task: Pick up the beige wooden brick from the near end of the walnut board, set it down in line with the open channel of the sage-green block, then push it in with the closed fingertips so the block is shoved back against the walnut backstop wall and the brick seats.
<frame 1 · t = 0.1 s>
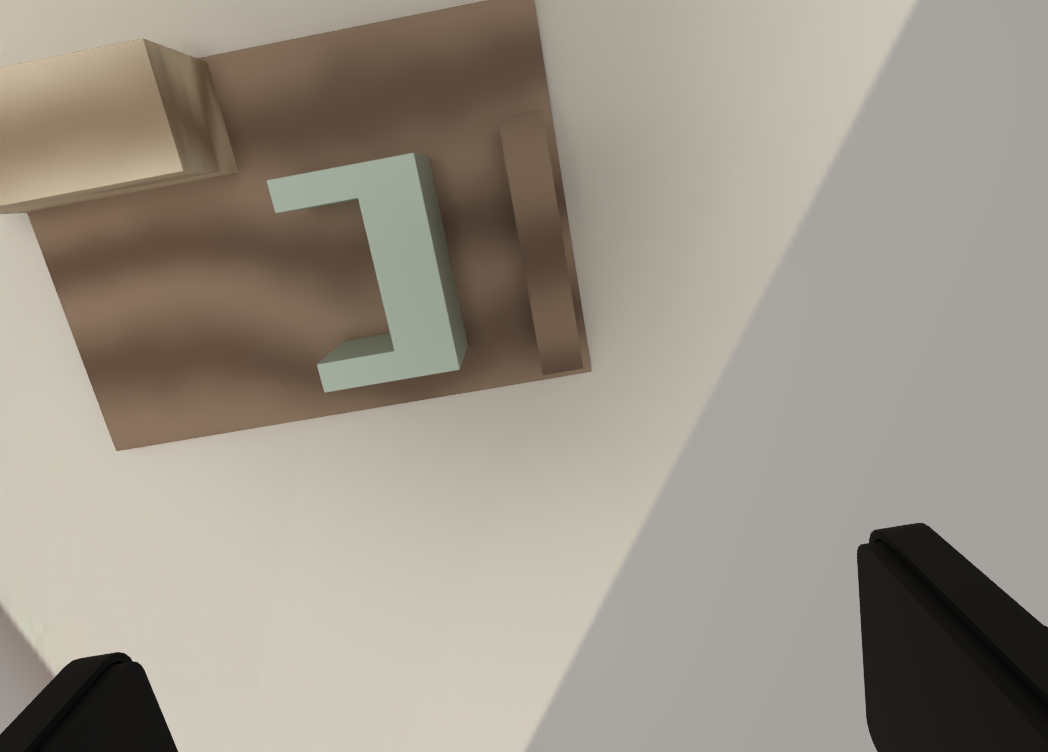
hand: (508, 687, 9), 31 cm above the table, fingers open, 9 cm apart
block: (377, 271, 35), point 3 cm above the table, slide at 0.0 cm
beige wooden brick: (114, 139, 36), point 1 cm above the table, touching board
board: (309, 242, 38), on the table
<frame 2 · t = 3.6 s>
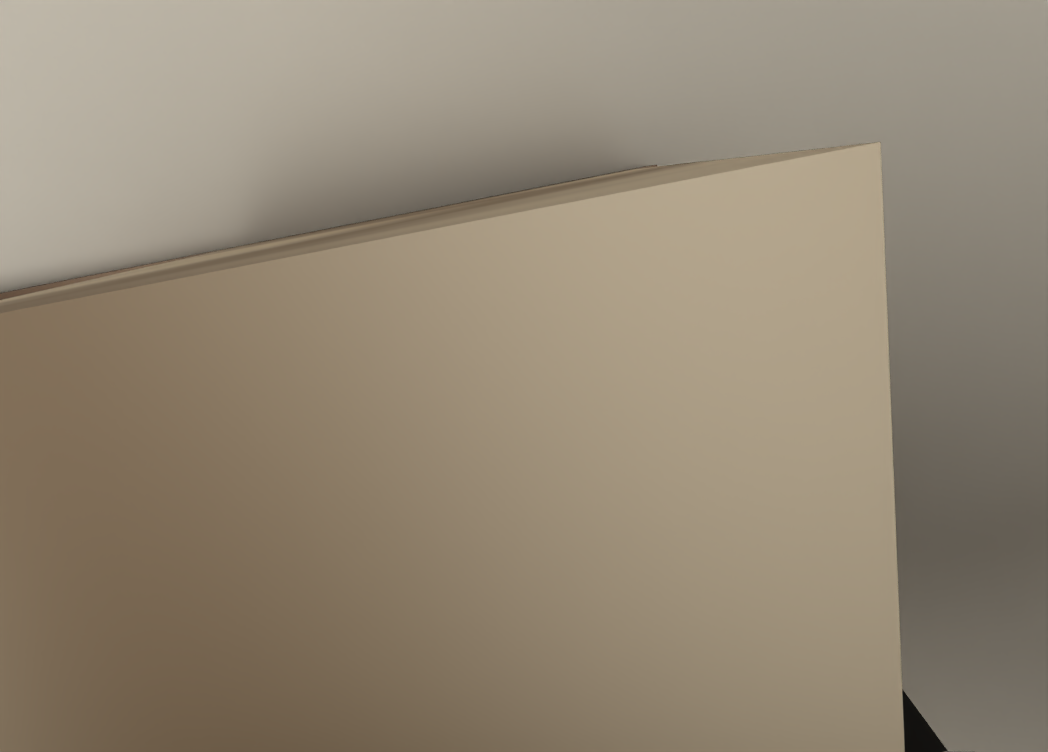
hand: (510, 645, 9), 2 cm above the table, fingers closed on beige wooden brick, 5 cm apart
beige wooden brick: (511, 613, 10), point 1 cm above the table, touching board, gripper
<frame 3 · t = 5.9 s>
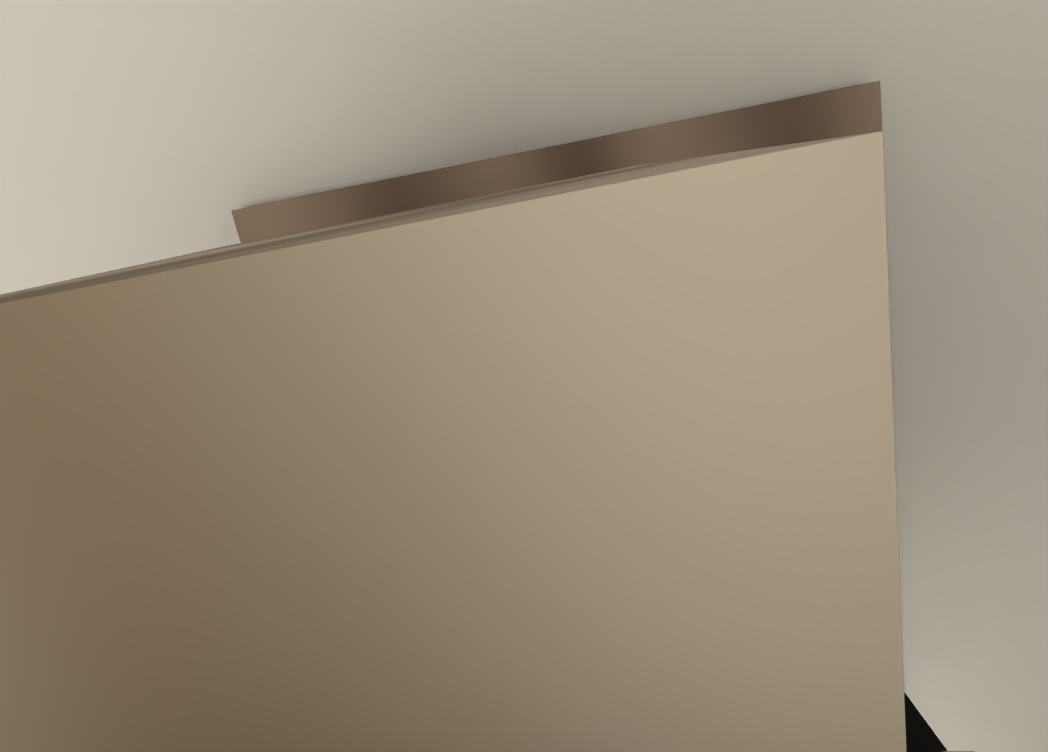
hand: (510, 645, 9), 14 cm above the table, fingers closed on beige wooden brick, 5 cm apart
beige wooden brick: (511, 612, 10), point 14 cm above the table, touching gripper
board: (614, 550, 25), on the table
when the fingers open (2 cm above the table, at t = 8.5 s): beige wooden brick stays where it is, resting on board.
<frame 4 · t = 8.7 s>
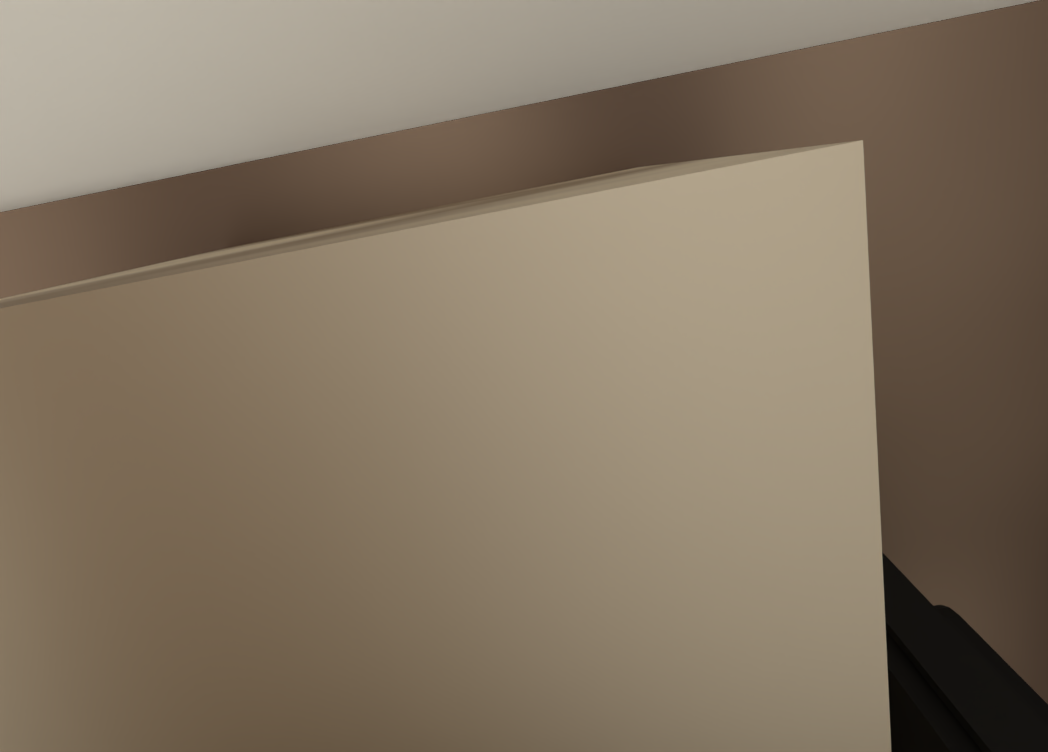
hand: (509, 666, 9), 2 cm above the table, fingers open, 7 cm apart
beige wooden brick: (515, 601, 10), point 1 cm above the table, touching board
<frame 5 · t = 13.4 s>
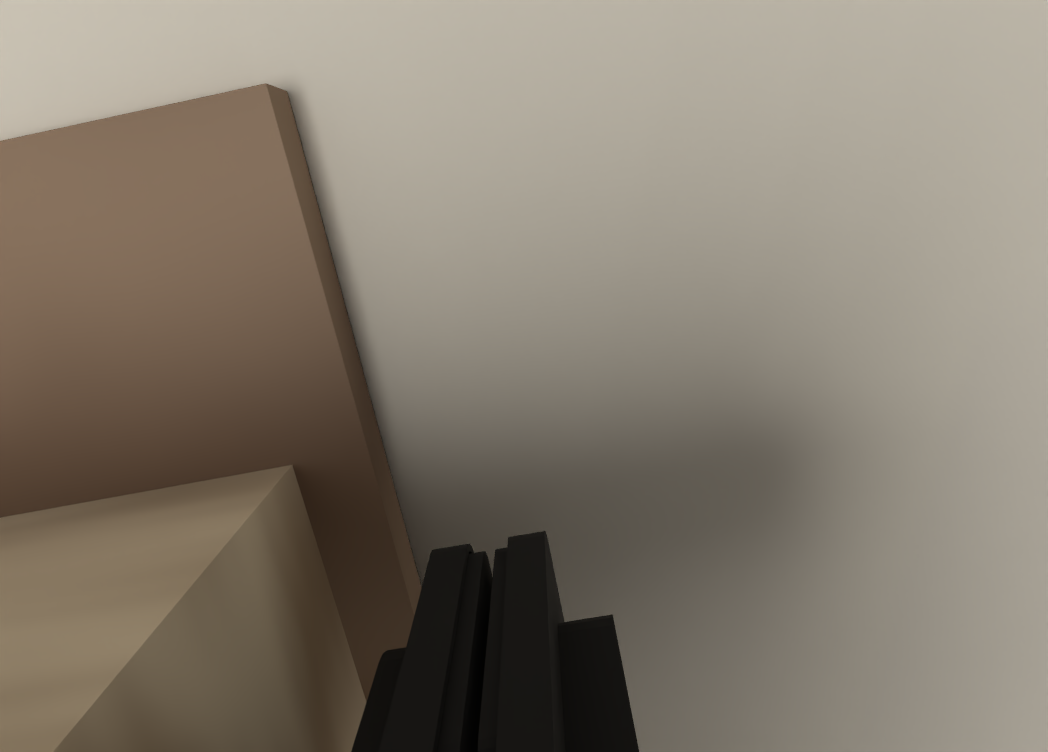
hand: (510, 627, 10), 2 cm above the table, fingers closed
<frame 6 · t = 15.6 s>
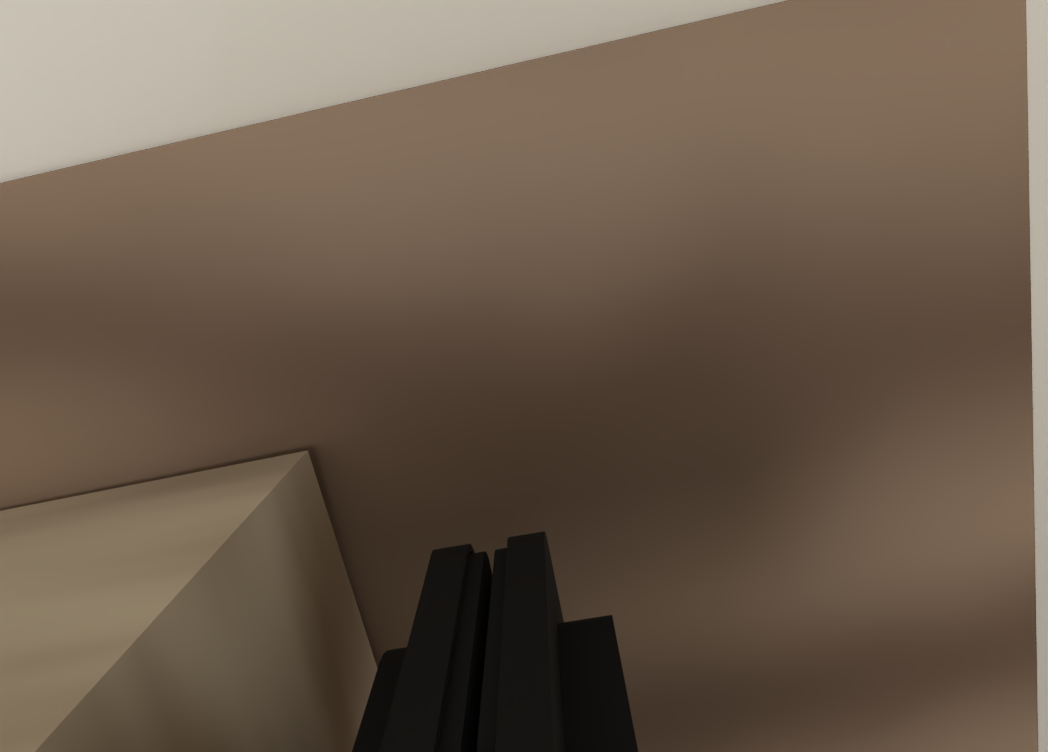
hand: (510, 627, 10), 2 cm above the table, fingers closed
beige wooden brick: (25, 660, 12), point 1 cm above the table, touching block, gripper
board: (242, 707, 13), on the table
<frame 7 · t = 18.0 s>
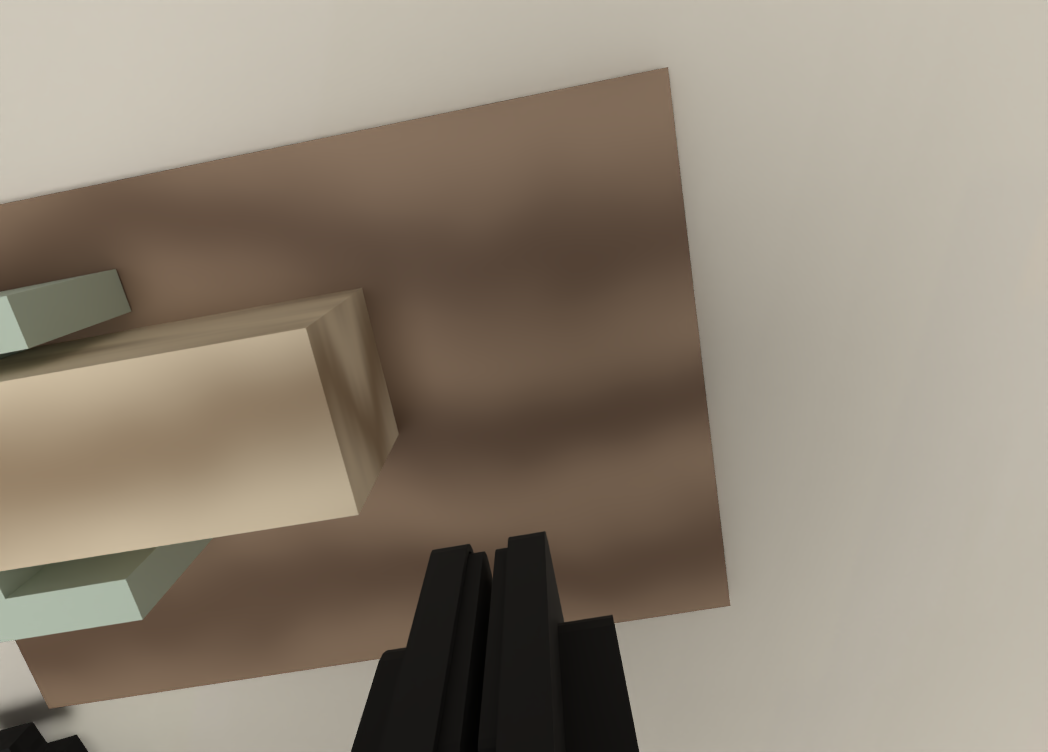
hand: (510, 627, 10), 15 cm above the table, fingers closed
block: (29, 455, 22), point 3 cm above the table, slide at 4.0 cm
beige wooden brick: (220, 391, 24), point 1 cm above the table, touching board
board: (316, 429, 26), on the table
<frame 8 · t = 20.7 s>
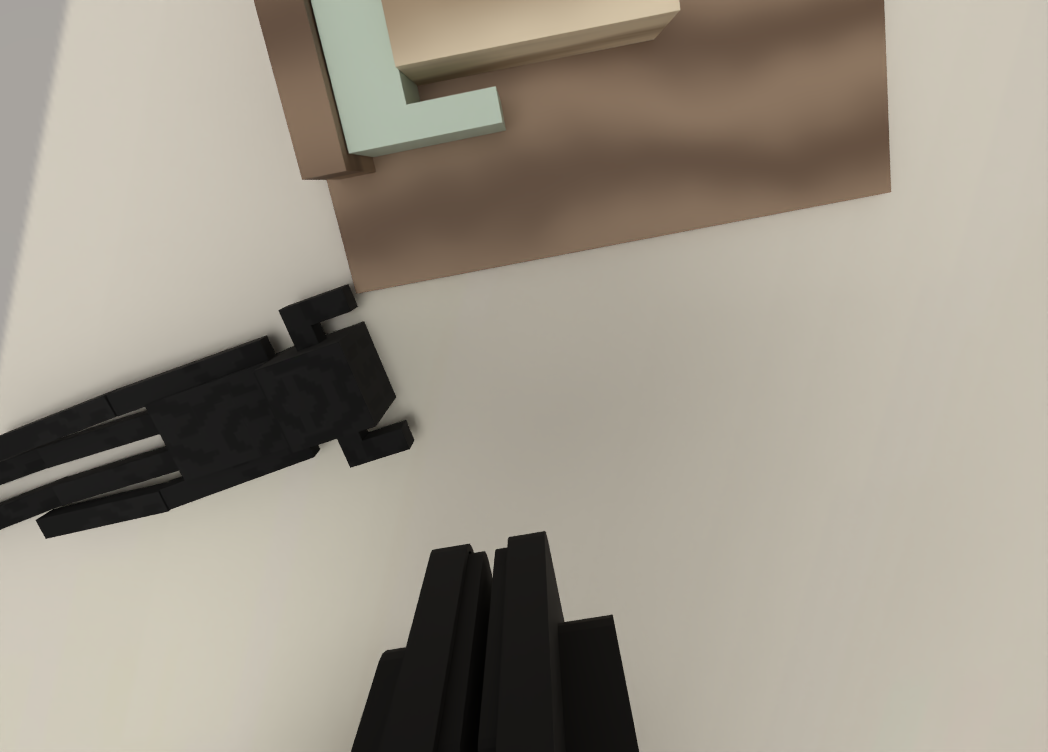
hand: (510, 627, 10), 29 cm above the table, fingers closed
block: (407, 22, 31), point 3 cm above the table, slide at 4.0 cm
toy: (161, 433, 41), on the table
beige wooden brick: (525, 2, 33), point 1 cm above the table, touching board
board: (586, 46, 34), on the table
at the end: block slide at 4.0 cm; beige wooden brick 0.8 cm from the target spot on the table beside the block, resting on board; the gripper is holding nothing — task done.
